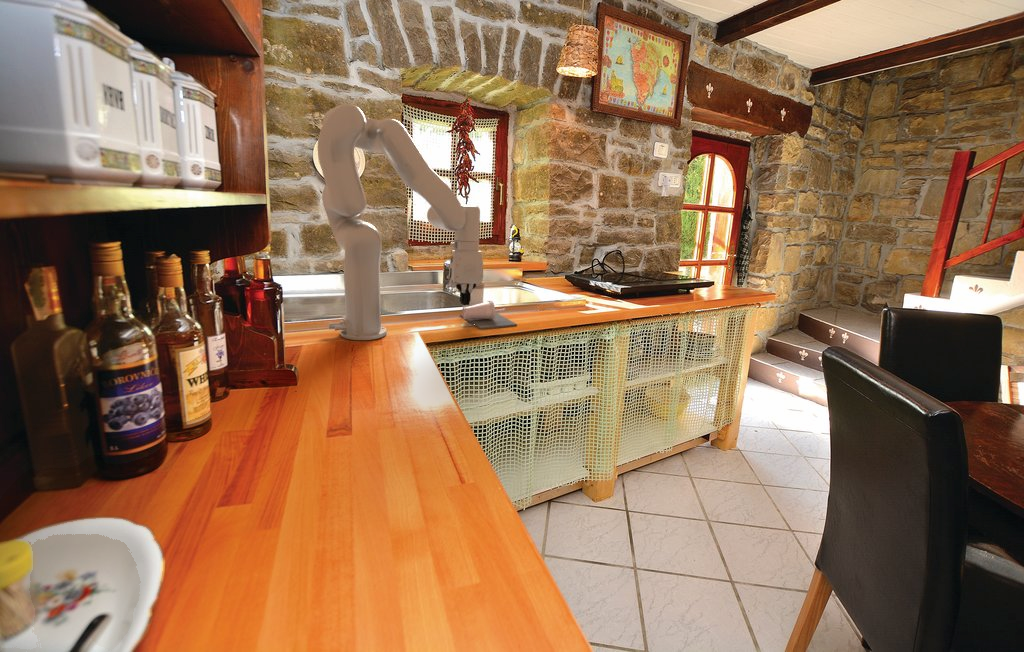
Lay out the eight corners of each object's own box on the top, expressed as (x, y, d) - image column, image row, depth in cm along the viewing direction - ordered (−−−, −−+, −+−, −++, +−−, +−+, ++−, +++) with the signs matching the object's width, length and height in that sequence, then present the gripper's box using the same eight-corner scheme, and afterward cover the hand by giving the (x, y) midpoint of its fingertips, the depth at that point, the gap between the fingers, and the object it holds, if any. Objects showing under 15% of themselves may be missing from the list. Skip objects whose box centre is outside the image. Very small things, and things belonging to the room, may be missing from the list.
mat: (480, 329, 148) (480, 327, 148) (460, 316, 162) (460, 314, 161) (516, 325, 155) (517, 324, 154) (494, 313, 168) (494, 311, 168)
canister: (467, 314, 164) (468, 286, 162) (458, 309, 170) (459, 281, 168) (486, 313, 168) (488, 285, 165) (477, 308, 174) (478, 280, 171)
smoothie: (467, 311, 149) (509, 306, 155) (461, 299, 154) (501, 295, 159) (466, 327, 153) (506, 321, 158) (460, 315, 158) (499, 310, 163)
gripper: (448, 248, 140) (447, 308, 146) (493, 247, 148) (491, 305, 153) (439, 244, 147) (438, 303, 152) (483, 244, 154) (481, 300, 159)
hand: (465, 304), depth 152 cm, fingers closed
